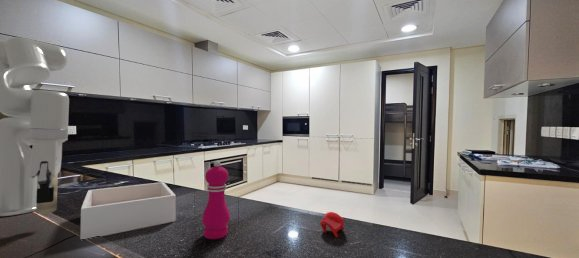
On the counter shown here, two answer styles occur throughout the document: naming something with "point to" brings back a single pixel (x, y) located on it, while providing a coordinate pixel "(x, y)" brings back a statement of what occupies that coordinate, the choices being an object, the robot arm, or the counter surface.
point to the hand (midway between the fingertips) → (46, 199)
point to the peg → (48, 206)
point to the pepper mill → (216, 203)
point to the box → (126, 209)
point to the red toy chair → (332, 222)
